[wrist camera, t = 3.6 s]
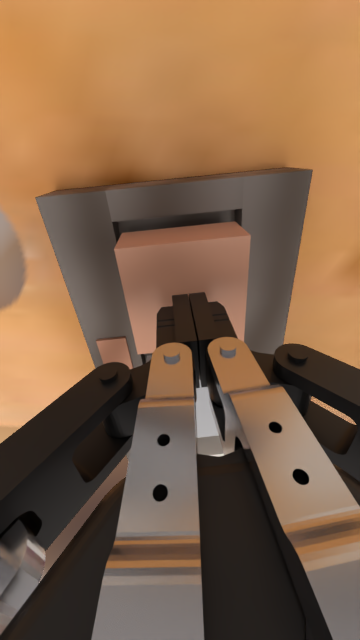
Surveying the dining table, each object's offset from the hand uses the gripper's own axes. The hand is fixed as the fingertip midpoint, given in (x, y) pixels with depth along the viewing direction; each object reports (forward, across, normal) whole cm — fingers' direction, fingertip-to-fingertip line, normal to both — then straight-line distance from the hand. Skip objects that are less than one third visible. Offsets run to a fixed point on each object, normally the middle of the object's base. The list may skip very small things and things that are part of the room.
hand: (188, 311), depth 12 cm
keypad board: (+7, 0, +9) cm, 11 cm away
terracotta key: (+4, 0, 0) cm, 4 cm away
